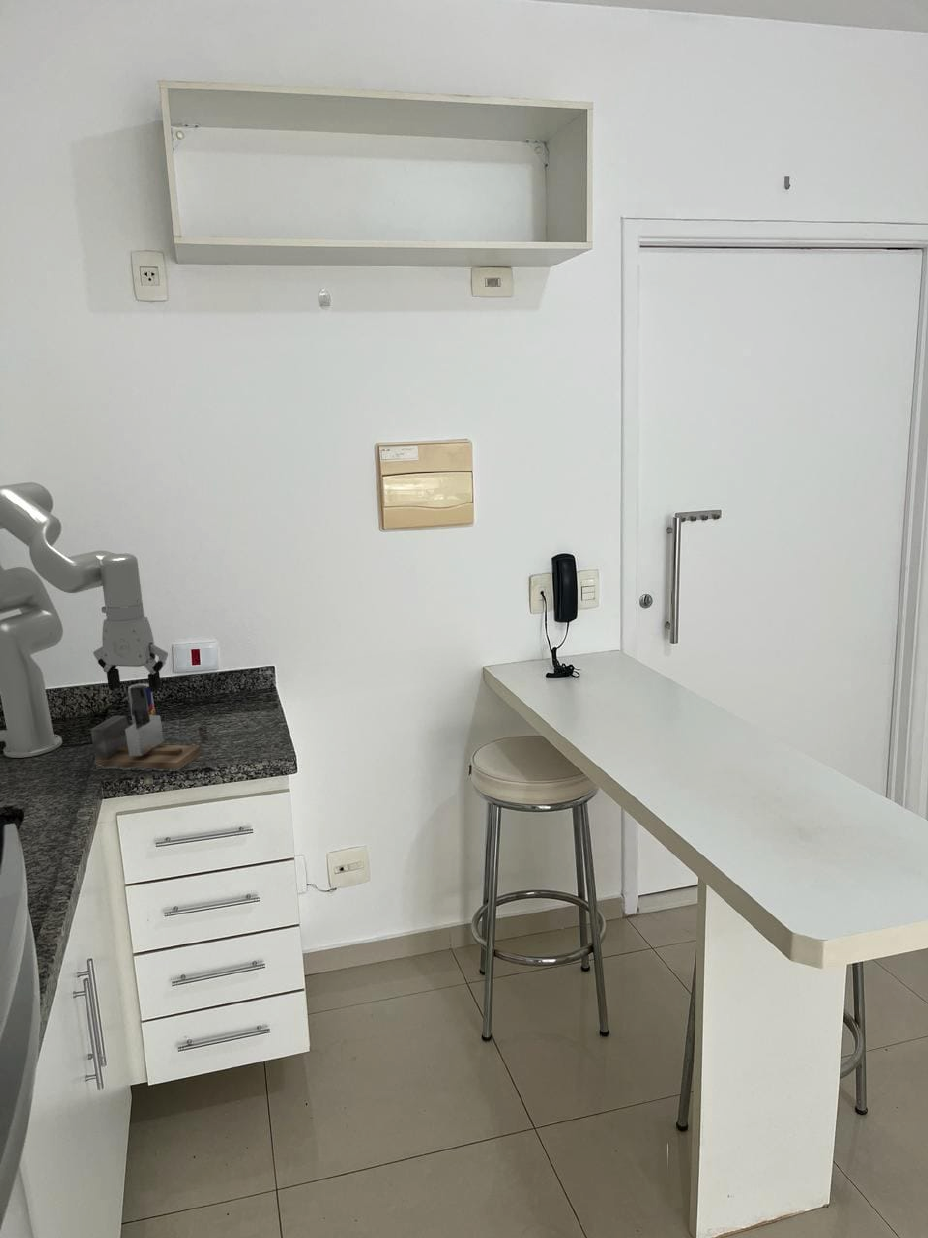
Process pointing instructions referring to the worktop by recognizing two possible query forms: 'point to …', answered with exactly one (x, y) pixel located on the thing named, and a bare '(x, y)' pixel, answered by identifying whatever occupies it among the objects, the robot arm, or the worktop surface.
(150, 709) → the energy drink
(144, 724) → the sliding jaw
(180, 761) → the base
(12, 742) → the robot arm
